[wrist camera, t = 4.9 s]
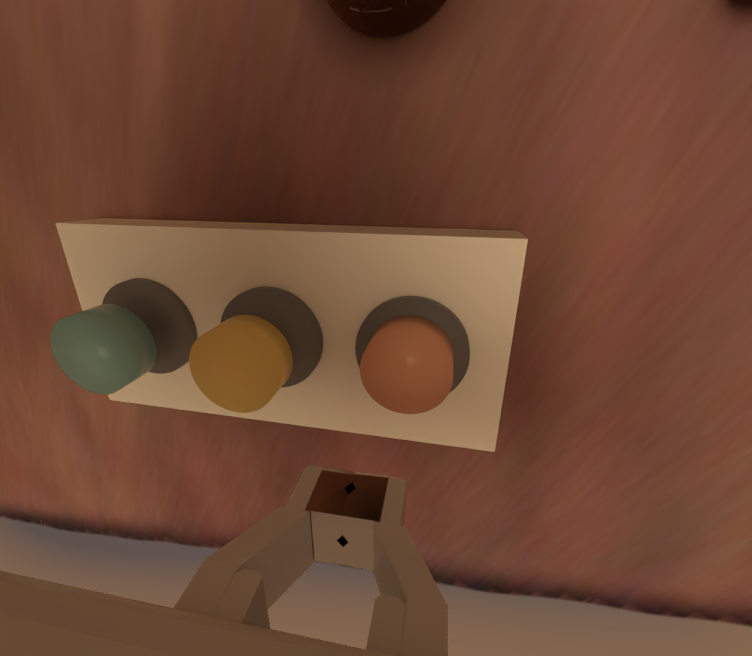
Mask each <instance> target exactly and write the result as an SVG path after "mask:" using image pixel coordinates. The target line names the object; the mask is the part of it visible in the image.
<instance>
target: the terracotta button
mask: <svg viewBox="0 0 752 656" xmlns="http://www.w3.org/2000/svg"><path fill="white" fill-rule="evenodd" d="M453 367H454V353H453V348H452V344H451V342H450V340H449V338H448V336H447V335H446V334H445V332H444V331H443V330H442V329H441V328H440V327H439V326H437V325H436V324H435V323H433V322H431V321H429V320H427V319H424V318H421V317H416V316H401V317H397V318H394V319H391V320H389V321H387V322H385V323H384V324H383V325H381V326H380V327H379V328H378V329H377V330H376V332H375V333H374V335H373V337H372V338H371V340H370V342H369V344H368V346H367V348H366V350H365V352H364V353H363V356H362V358H361V363H360V376H361V380H362V383H363V386H364V388H365V389H366V391H367V393H368V394H369V395H370V396H371V398H372V399H373V400H375V401H376V402H377V403H378V404H380V405H381V406H383V407H384V408H386V409H388V410H391V411H393V412H397V413H402V414H419V413H423V412H427V411H429V410H432V409H433V408H435V407H437V406H438V405H439V404H441V403H442V402H443V401H444V400H445V398H446V397H447V396H448V394H449V392H450V390H451V387H452V384H453Z"/></svg>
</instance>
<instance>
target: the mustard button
mask: <svg viewBox="0 0 752 656" xmlns="http://www.w3.org/2000/svg"><path fill="white" fill-rule="evenodd" d="M189 366H190V371H191V374H192V377H193V379H194V381H195V383H196V385H197V386H198V388H199V389H200V390H201V392H202V393H203V394H204V395H205V396H206V397H207V398H208V399H209V400H211V401H212V402H213V403H215V404H216V405H218V406H220V407H222V408H224V409H226V410H229V411H232V412H237V413H249V412H254V411H257V410H259V409H261V408H263V407H264V406H265V405H266V404H267V403H268V402H269V401H270V400H271V399H272V398H273V396H274V395H275V394H276V393H277V392H278V390H279V389H280V388H281V387H282V386H283V385H284V383H285V382H286V381H287V380H288V378H289V376H290V374H291V371H292V367H293V357H292V352H291V348H290V346H289V344H288V342H287V340H286V338H285V337H284V336H283V334H282V333H281V332H280V331H279V330H278V329H277V328H276V327H275V326H274V325H272V324H271V323H270V322H268V321H266V320H264V319H262V318H260V317H257V316H253V315H237V316H233V317H231V318H229V319H227V320H225V321H224V322H222V323H220V324H219V325H217V326H216V327H214V328H212V329H211V330H209V331H207V332H206V333H204V334H203V335H201V336H200V337H199V338H198V339H197V340H196V341H195V342H194V344H193V346H192V348H191V351H190V355H189Z"/></svg>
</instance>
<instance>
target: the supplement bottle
mask: <svg viewBox="0 0 752 656" xmlns="http://www.w3.org/2000/svg"><path fill="white" fill-rule="evenodd" d="M327 1H328V3H329V4H330V6H331V7H332V8H333V10H334V11H335V12H336V13H337V14H338V15H339V16H340V17H341V18H342V19H343V20H344V21H345V22H347V23H348V24H349V25H351V26H352V27H354V28H356V29H358V30H360V31H362V32H365V33H368V34H372V35H381V36H386V35H395V34H399V33H402V32H405V31H408V30H410V29H412V28H414V27H416V26H417V25H419V24H420V23H422V22H423V21H425V20H426V19H427V18H428V17H429V16H431V15H432V14H433V13H434V12H435V10H436V9H437V8H438V7H439V6H440V5H441V3H442V2H443V1H444V0H327Z"/></svg>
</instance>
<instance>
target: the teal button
mask: <svg viewBox="0 0 752 656" xmlns="http://www.w3.org/2000/svg"><path fill="white" fill-rule="evenodd" d="M50 341H51V348H52V352H53V354H54V357H55V359H56V361H57V363H58V364H59V366H60V368H61V369H62V370H63V371H64V373H65V374H66V375H67V376H68V377H69V378H70V379H71V380H72V381H73V382H75V383H76V384H77V385H79V386H80V387H82V388H84V389H85V390H88V391H90V392H93V393H96V394H103V395H106V394H112V393H115V392H117V391H119V390H120V389H122V388H123V387H125V386H127V385H128V384H130V383H131V382H133V381H135V380H136V379H138V378H139V377H141V376H143V375H144V374H146V373H147V372H149V371H150V370H151V369H152V367H153V366H154V363H155V360H156V346H155V342H154V339H153V337H152V335H151V333H150V331H149V329H148V328H147V326H146V325H145V324H144V323H143V321H142V320H141V319H140V318H139V317H138V316H136V315H135V314H134V313H133V312H131V311H130V310H128V309H126V308H124V307H122V306H119V305H115V304H102V305H99V306H96V307H93V308H90V309H87V310H85V311H82V312H79V313H76V314H73V315H71V316H68V317H65V318H62V319H60V320H59V321H58V322H57V323H56V324H55V325H54V326H53V329H52V331H51V337H50Z"/></svg>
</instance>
